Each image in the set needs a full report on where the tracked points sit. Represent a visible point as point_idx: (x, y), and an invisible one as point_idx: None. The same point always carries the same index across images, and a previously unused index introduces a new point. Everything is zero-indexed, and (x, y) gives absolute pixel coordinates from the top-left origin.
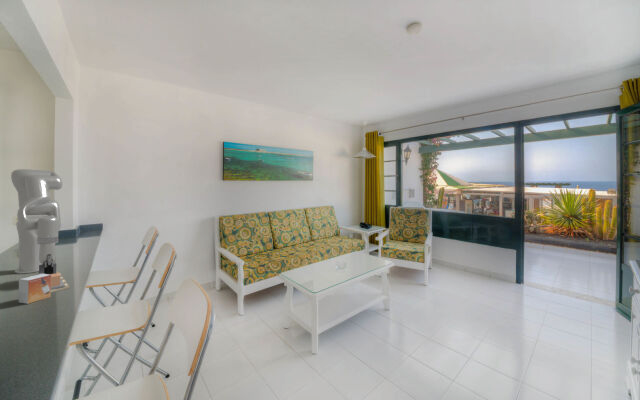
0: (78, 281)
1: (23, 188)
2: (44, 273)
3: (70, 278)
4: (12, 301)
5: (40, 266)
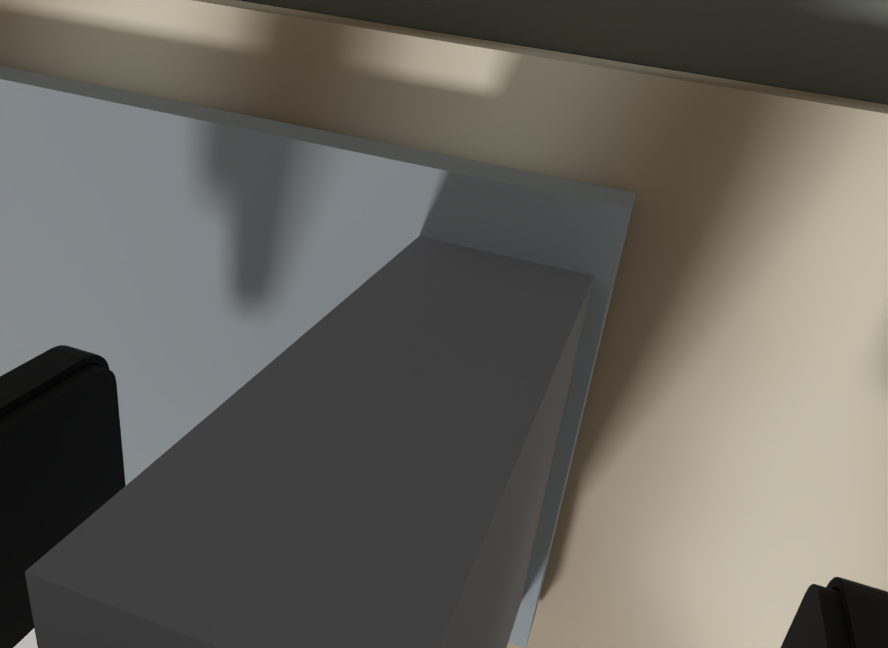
0: None
1: None
2: (10, 371)
3: None
4: None
5: (73, 581)
